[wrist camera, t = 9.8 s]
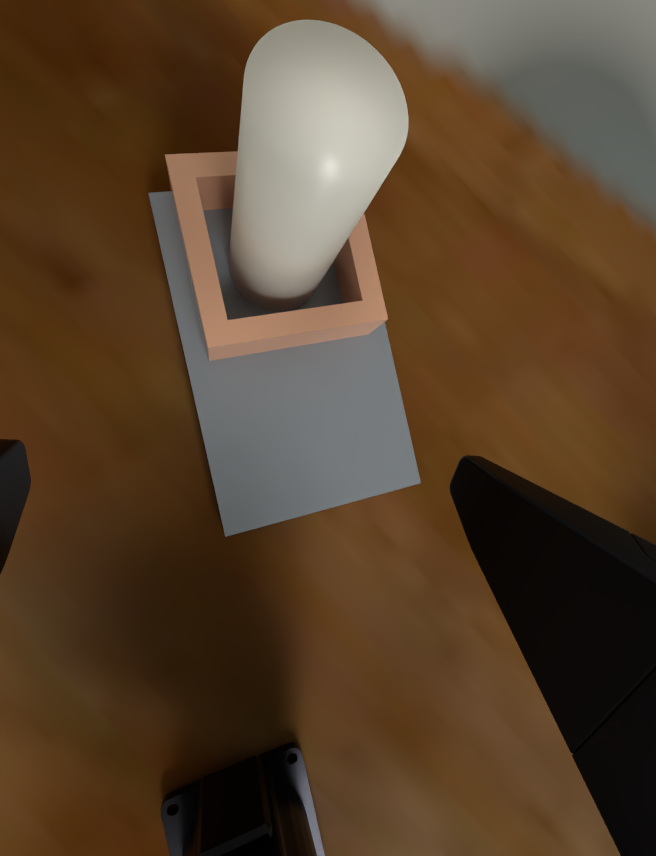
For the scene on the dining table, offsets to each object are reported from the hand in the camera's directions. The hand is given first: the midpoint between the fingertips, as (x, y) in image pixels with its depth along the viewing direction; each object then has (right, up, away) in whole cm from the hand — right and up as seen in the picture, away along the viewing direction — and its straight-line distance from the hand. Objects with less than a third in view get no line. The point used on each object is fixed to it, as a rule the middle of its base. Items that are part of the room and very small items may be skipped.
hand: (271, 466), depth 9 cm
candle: (-1, +9, +12) cm, 15 cm away
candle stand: (-1, +5, +13) cm, 14 cm away
